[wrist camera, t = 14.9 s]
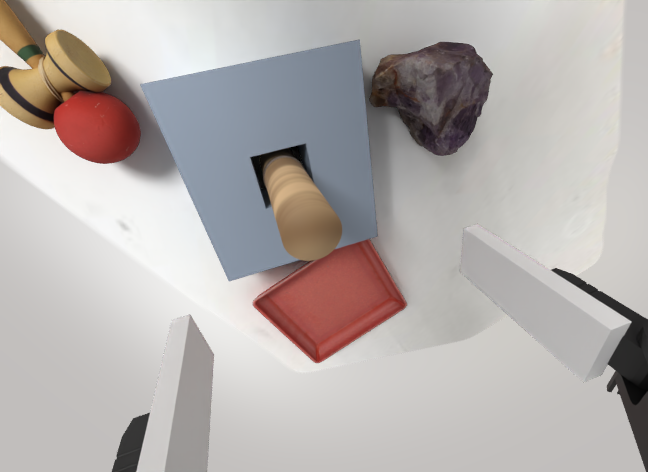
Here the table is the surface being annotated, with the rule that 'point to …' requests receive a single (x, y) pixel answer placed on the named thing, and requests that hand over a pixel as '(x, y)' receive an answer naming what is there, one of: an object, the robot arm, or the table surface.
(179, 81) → the board
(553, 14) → the table surface
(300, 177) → the peg
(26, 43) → the kendama
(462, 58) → the rock
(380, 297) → the plant saucer
